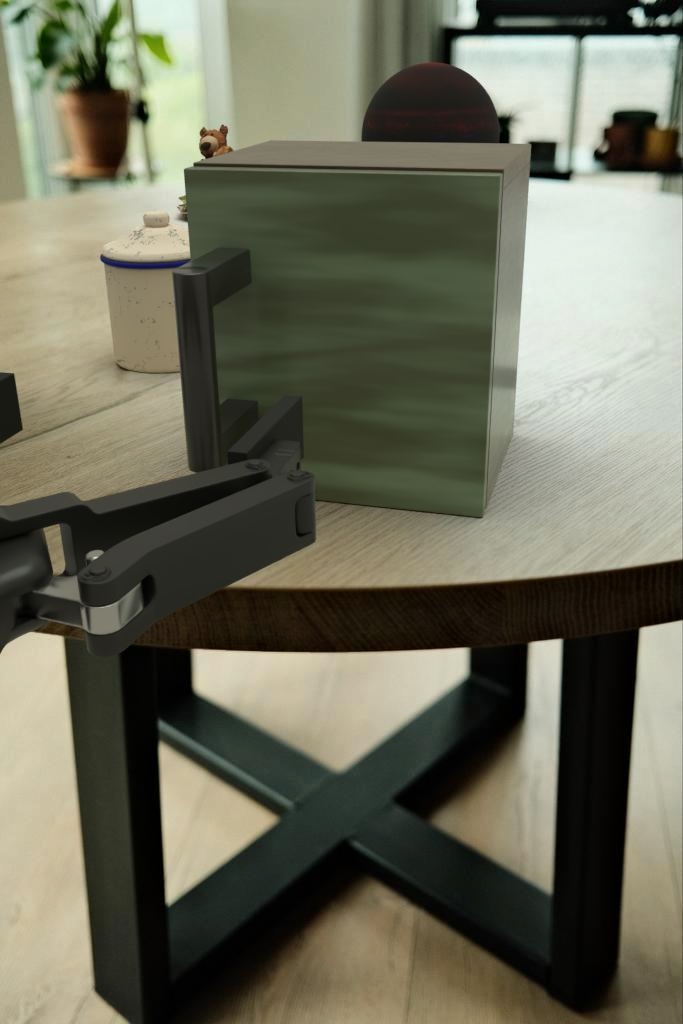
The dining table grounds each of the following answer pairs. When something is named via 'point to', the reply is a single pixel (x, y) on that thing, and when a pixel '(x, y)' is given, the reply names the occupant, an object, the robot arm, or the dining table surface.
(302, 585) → the dining table surface
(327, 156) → the cupboard
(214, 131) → the bear figurine
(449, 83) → the decorative orb
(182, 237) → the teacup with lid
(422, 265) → the door
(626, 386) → the dining table surface
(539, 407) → the dining table surface
